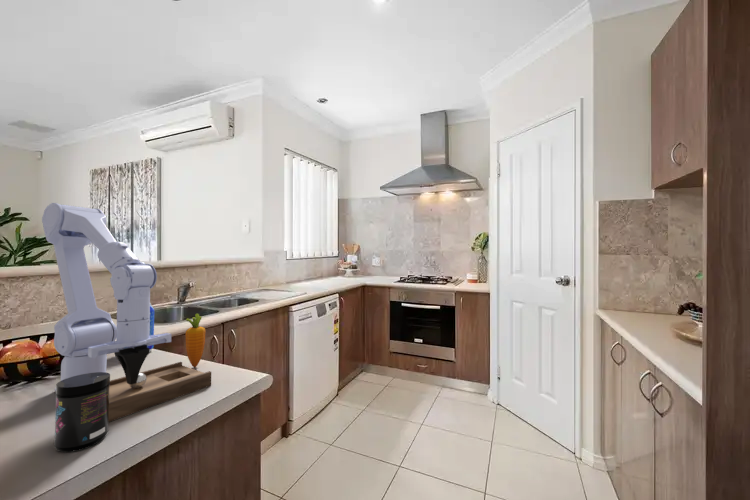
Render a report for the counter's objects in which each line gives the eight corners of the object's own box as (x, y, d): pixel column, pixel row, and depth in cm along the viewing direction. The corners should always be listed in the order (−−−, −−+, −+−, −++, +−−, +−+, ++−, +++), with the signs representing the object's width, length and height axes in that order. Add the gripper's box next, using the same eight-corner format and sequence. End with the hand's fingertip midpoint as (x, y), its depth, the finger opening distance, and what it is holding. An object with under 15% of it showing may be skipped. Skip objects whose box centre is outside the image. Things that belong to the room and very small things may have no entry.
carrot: (195, 371, 86) (197, 316, 86) (180, 369, 87) (181, 315, 87) (208, 365, 91) (209, 313, 91) (194, 363, 92) (195, 312, 92)
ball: (132, 369, 69) (148, 372, 71) (124, 384, 68) (139, 386, 70) (135, 374, 67) (151, 377, 69) (126, 389, 66) (142, 391, 68)
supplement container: (83, 430, 56) (85, 371, 57) (118, 431, 56) (120, 372, 56) (41, 453, 50) (43, 386, 50) (81, 455, 49) (83, 388, 49)
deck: (75, 405, 65) (75, 389, 65) (180, 374, 83) (180, 361, 83) (102, 424, 58) (102, 406, 58) (211, 385, 76) (211, 371, 76)
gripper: (98, 326, 60) (96, 399, 59) (178, 315, 72) (177, 375, 72) (84, 323, 64) (83, 392, 63) (163, 313, 76) (162, 370, 75)
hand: (132, 383), depth 67 cm, fingers closed, pressing on ball
